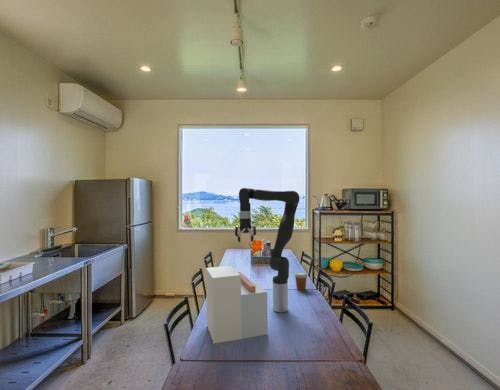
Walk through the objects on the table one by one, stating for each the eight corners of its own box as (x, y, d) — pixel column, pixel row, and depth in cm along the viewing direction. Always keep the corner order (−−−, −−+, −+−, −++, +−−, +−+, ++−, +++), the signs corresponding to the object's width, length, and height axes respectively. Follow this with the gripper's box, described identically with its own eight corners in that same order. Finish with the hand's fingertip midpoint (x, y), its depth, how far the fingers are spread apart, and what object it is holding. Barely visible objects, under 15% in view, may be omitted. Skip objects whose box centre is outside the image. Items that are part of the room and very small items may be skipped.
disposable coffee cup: (299, 286, 226) (299, 270, 226) (310, 289, 219) (309, 273, 219) (292, 289, 219) (291, 273, 219) (302, 292, 212) (302, 275, 212)
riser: (206, 326, 160) (206, 267, 160) (255, 318, 169) (254, 263, 169) (213, 343, 141) (212, 278, 141) (267, 334, 150) (266, 272, 150)
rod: (235, 277, 176) (235, 272, 176) (240, 277, 177) (240, 272, 177) (249, 292, 149) (249, 286, 149) (255, 291, 150) (255, 286, 150)
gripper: (236, 218, 189) (236, 243, 189) (257, 217, 194) (257, 242, 194) (233, 217, 196) (233, 241, 197) (253, 216, 201) (253, 240, 201)
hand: (245, 241), depth 195 cm, fingers open, 8 cm apart
